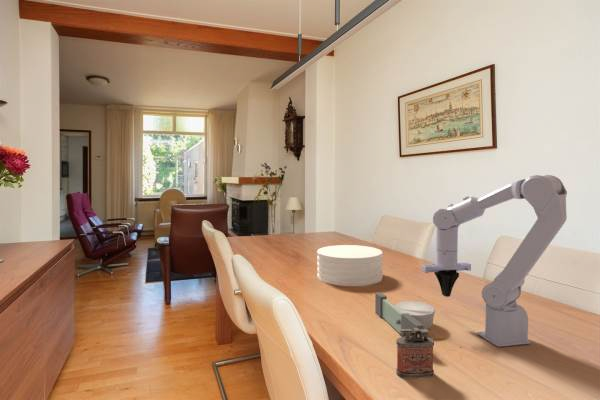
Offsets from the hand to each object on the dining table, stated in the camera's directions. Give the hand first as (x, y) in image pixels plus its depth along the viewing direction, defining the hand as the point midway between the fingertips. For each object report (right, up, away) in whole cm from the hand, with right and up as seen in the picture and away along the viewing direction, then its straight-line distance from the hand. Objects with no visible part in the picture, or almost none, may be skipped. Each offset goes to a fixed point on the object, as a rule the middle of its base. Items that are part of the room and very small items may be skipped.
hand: (446, 295), depth 104 cm
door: (-17, -8, -2) cm, 19 cm away
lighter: (-18, -10, -27) cm, 34 cm away
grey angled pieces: (-16, -8, -4) cm, 18 cm away
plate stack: (-21, -6, +51) cm, 55 cm away
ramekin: (-10, -9, -1) cm, 13 cm away
